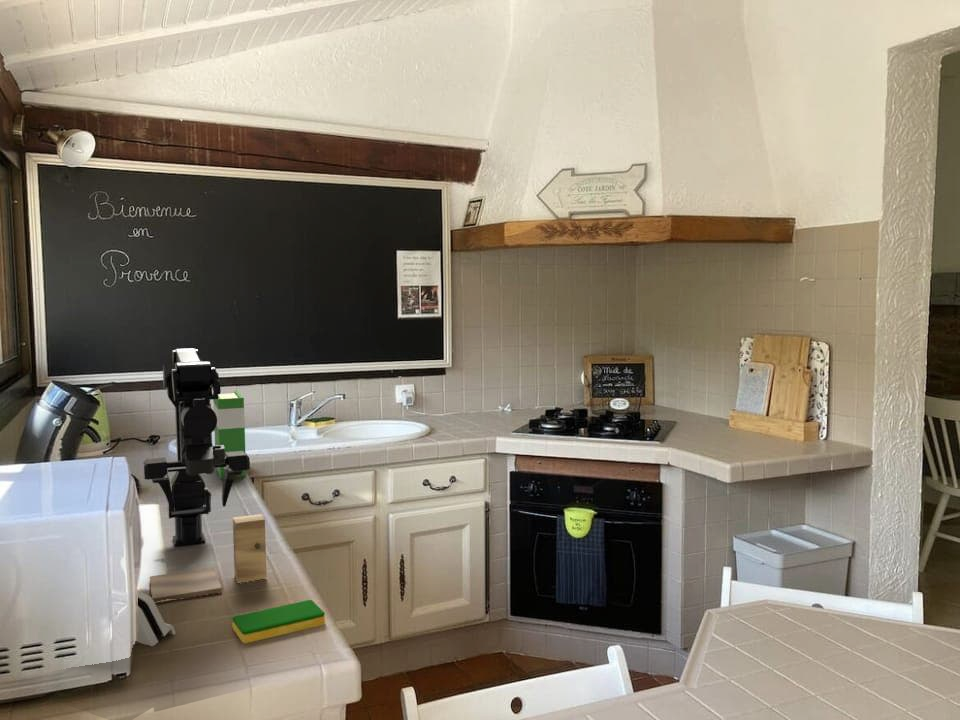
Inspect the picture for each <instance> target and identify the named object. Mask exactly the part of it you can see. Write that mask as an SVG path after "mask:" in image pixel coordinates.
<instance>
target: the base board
mask: <svg viewBox="0 0 960 720" xmlns="http://www.w3.org/2000/svg"><path fill="white" fill-rule="evenodd" d="M217 573H218V572H217V570H216V567H208V568H207V567H206V568H199V569H193V570H186V571H178V572H172V573H164V574H159V575H152V576H151V575H150V576H149V583H150V584H149V586H150V585H151V587H150V595H151V594H152V595H151V598H152V599H153V601H154V602H157V601H161V600H166V599H180V598H187V599H190V598H189V597H193V598H196V597H195V596H199V597H202V596H201V595H206V594H212V595H214V594H213V593H218V594H220V593H219V592H222V593H223V587H222V585H221V581H220V578H219V577H218V574H217ZM206 596H207V595H206ZM180 600H181V599H180Z"/></svg>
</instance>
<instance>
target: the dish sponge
mask: <svg viewBox="0 0 960 720" xmlns="http://www.w3.org/2000/svg"><path fill="white" fill-rule="evenodd" d="M325 615H326V613H325V611H324V610H323V609H322V608H321V607H319V606H318V604H316V602H314V601H313V600H312V599H308V600H303V601H298V602H294V603H289V604H285V605H280V606H276V607H271V608H266V609H262V610H257V611H253V612H248V613H243V614H238V615H234V616H232V618H231V619H232V621H231V623H232V629H233V631H234V632H235V634H236V635H237V637H238V639H240V641H241V643H242V644H248V643H251V642H256V641H260V640H265V639H269V638H273V637H278V636H281V635H285V634H290V633H294V632H299V631H303V630H307V629H311V628H315V627H319V626H323V625H325V624H326V616H325Z"/></svg>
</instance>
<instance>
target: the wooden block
mask: <svg viewBox="0 0 960 720" xmlns="http://www.w3.org/2000/svg"><path fill="white" fill-rule="evenodd" d="M232 537H233V538H232V541H233V543H232V544H233V566H234V567H233V568H234V569H233V570H234V579H235V578H236V579H235V582H236V581H237V582H236V584H237V583H240V582H247V581H252V580H259V579H265V578H267V550H266V547H267V546H266V544H267V543H266V519H265V518H264V516H263V514H262V513H260V514H259V513H258V514H251V515H243V516H242V515H241V516H235V517H234V516H233V517H232ZM267 579H268V578H267ZM247 583H248V582H247ZM240 584H241V583H240Z"/></svg>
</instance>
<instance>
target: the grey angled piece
mask: <svg viewBox="0 0 960 720" xmlns="http://www.w3.org/2000/svg"><path fill="white" fill-rule="evenodd" d="M137 590H138V589H137ZM166 635H173V636H174V635H176V630H175V628H174V626H173V624H169V623H166V622H165V621H164V618H163V617H162V615H161V613H160V611H159V609H158V607H157V605H156V603H154V601H153V599H152V596H150V595H148V594H146V593H145V592H143V591H141V590H138V642H137V643H139V644H143V645H146V646H150V647H154V646H155V645H156V644H158V643H159V640H158V639H159V637H166Z"/></svg>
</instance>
